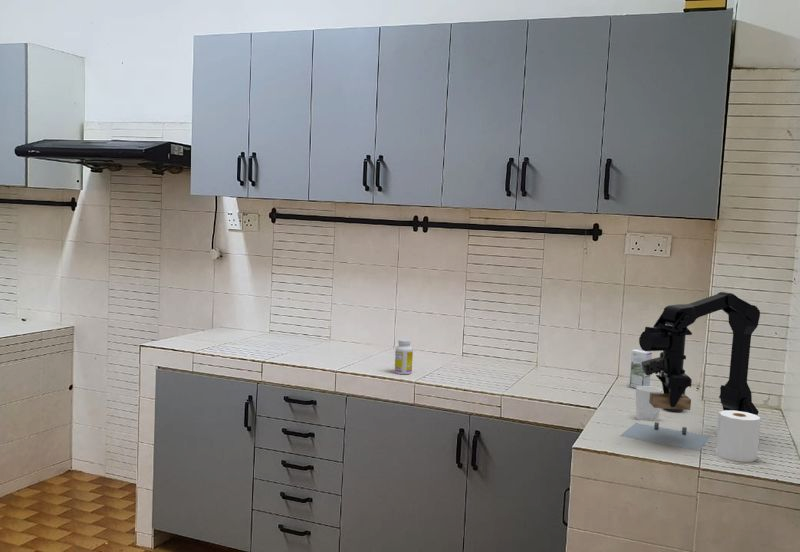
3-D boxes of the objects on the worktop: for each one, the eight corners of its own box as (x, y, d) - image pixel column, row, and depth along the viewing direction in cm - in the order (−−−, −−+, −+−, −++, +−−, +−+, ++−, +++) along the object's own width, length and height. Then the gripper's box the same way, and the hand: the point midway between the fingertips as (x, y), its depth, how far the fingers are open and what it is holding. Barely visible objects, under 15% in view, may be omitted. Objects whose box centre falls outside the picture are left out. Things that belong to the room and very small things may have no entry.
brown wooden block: (684, 404, 229) (685, 394, 229) (690, 410, 223) (691, 399, 223) (649, 402, 230) (649, 392, 229) (654, 407, 224) (654, 397, 224)
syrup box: (650, 388, 298) (653, 350, 297) (643, 390, 294) (645, 352, 292) (636, 385, 302) (638, 348, 301) (628, 387, 298) (631, 349, 296)
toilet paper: (708, 452, 218) (712, 409, 217) (745, 453, 219) (748, 410, 218) (725, 464, 208) (729, 419, 207) (763, 465, 209) (767, 420, 208)
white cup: (639, 414, 257) (642, 384, 256) (663, 419, 252) (666, 388, 251) (630, 419, 251) (632, 388, 250) (654, 424, 246) (656, 392, 245)
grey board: (711, 438, 232) (711, 429, 232) (699, 453, 217) (700, 443, 216) (635, 425, 243) (636, 416, 243) (619, 438, 228) (620, 428, 228)
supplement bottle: (411, 371, 308) (413, 339, 307) (412, 375, 301) (413, 342, 300) (394, 371, 308) (395, 338, 307) (394, 374, 301) (396, 341, 300)
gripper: (637, 343, 235) (634, 394, 236) (652, 354, 216) (648, 410, 218) (676, 345, 234) (672, 397, 235) (694, 357, 215) (689, 413, 217)
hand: (669, 404), depth 226 cm, fingers closed on brown wooden block, 6 cm apart
